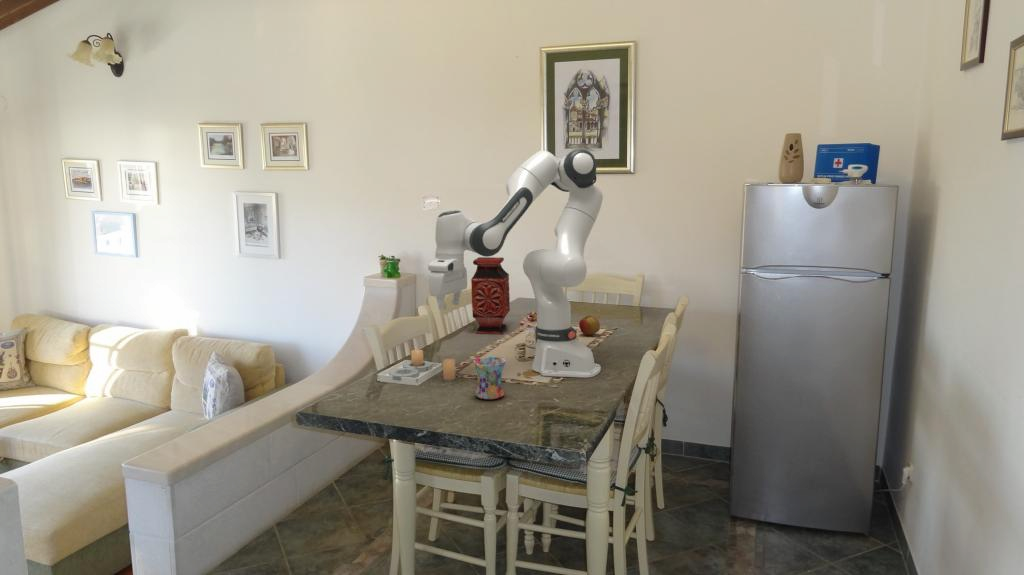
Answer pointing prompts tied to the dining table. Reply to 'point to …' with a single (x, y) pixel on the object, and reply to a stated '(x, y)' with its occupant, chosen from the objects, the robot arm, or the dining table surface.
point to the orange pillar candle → (449, 369)
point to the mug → (489, 377)
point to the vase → (490, 295)
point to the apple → (589, 325)
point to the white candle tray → (411, 370)
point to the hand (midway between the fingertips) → (449, 306)
